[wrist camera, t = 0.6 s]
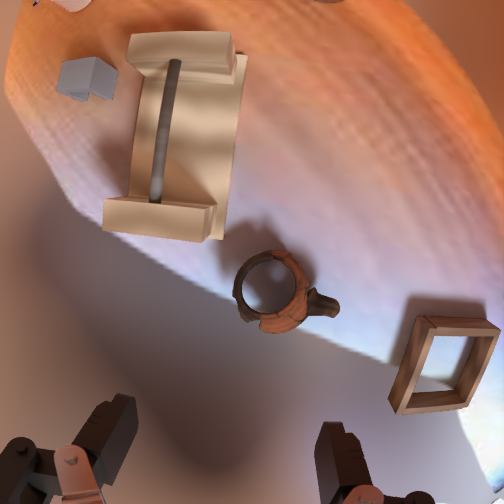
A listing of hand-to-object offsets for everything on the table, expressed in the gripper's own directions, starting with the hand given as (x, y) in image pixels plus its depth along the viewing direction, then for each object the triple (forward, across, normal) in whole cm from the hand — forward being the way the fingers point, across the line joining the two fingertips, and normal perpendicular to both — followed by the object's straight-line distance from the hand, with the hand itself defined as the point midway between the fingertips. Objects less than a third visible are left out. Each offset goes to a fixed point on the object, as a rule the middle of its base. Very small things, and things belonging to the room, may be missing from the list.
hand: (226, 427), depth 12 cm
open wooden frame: (+26, -30, +12) cm, 42 cm away
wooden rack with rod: (+27, +9, -14) cm, 31 cm away
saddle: (+27, +22, -21) cm, 41 cm away
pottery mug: (+27, -4, +3) cm, 27 cm away
